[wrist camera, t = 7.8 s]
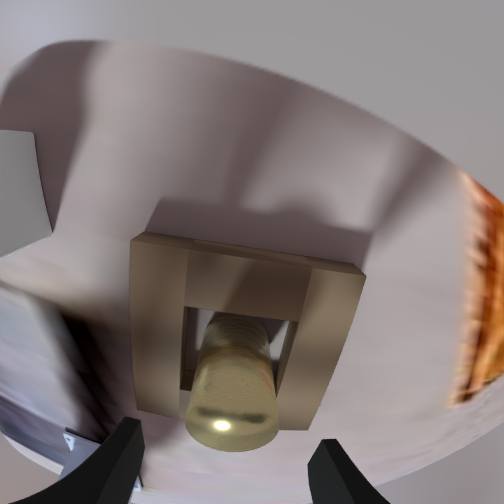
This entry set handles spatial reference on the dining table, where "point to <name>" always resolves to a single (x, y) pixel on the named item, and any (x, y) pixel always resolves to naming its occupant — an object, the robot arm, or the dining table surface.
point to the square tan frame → (237, 302)
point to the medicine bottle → (20, 194)
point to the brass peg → (233, 387)
